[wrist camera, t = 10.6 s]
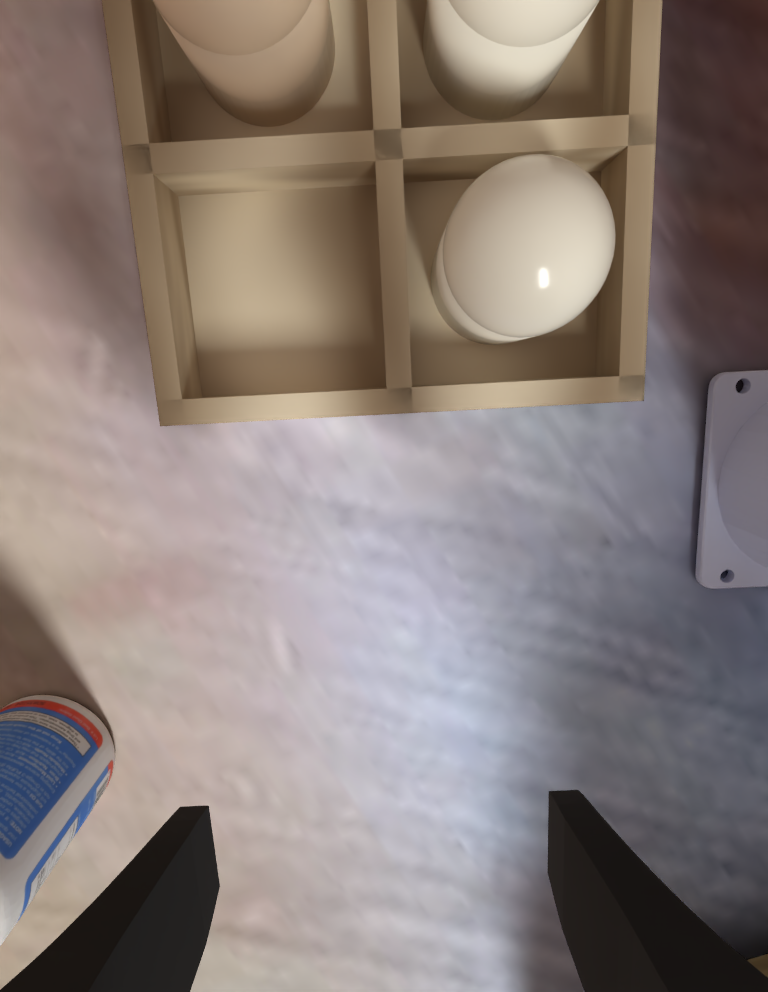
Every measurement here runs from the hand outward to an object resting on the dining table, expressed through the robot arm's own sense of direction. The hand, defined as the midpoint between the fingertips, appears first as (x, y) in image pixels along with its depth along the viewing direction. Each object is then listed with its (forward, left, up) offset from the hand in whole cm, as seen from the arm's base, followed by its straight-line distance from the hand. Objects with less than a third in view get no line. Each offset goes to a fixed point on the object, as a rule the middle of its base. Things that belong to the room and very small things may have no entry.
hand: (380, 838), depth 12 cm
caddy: (-1, -16, -10) cm, 19 cm away
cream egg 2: (-4, -13, -10) cm, 17 cm away
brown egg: (+3, -20, -10) cm, 22 cm away
